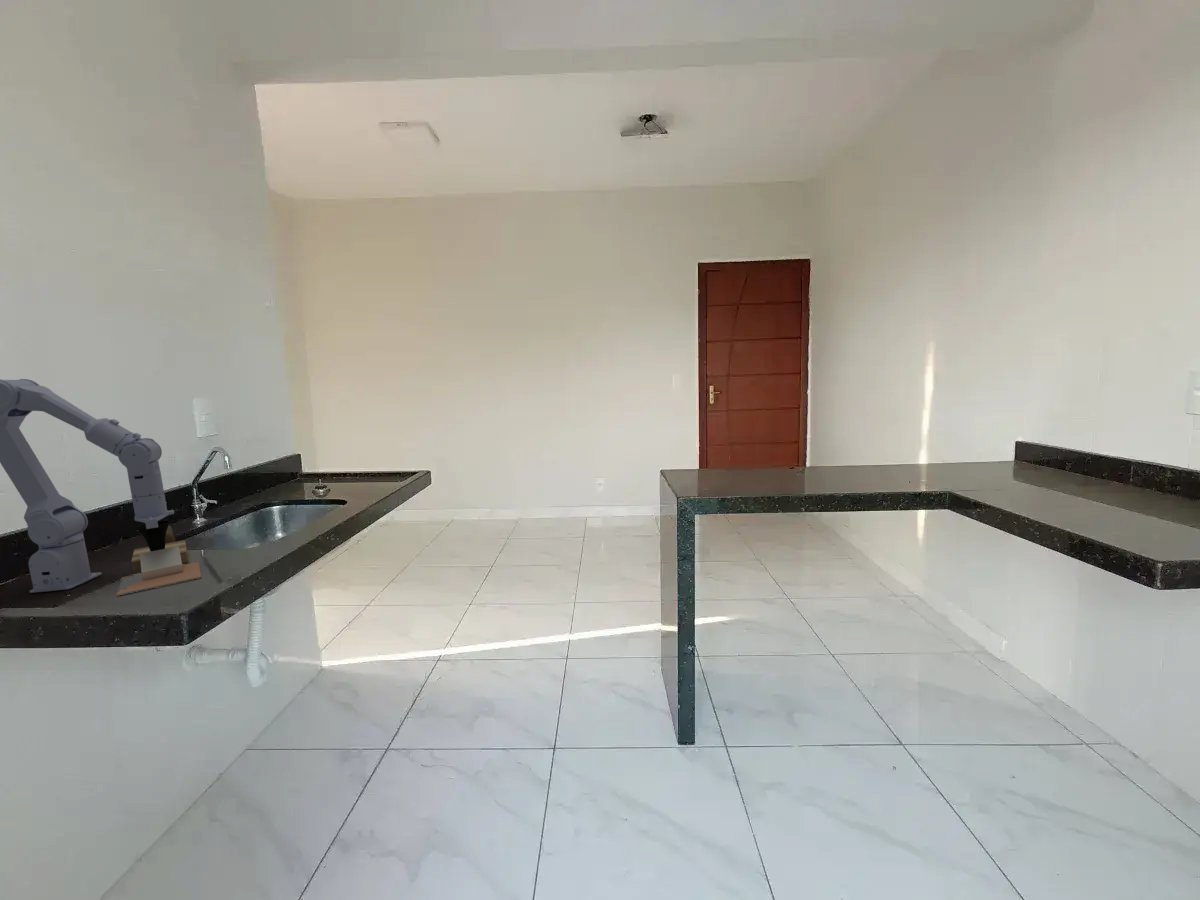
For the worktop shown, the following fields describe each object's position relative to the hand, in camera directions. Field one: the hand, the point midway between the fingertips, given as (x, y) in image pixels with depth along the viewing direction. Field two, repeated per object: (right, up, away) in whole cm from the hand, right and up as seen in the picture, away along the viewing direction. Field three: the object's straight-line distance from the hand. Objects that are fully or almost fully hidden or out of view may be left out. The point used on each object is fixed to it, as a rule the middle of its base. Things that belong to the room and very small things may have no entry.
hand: (158, 554), depth 133 cm
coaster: (+3, -2, -3) cm, 4 cm away
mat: (+5, -4, -6) cm, 8 cm away
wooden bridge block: (-4, -3, +6) cm, 8 cm away
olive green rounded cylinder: (-17, +1, +24) cm, 29 cm away
